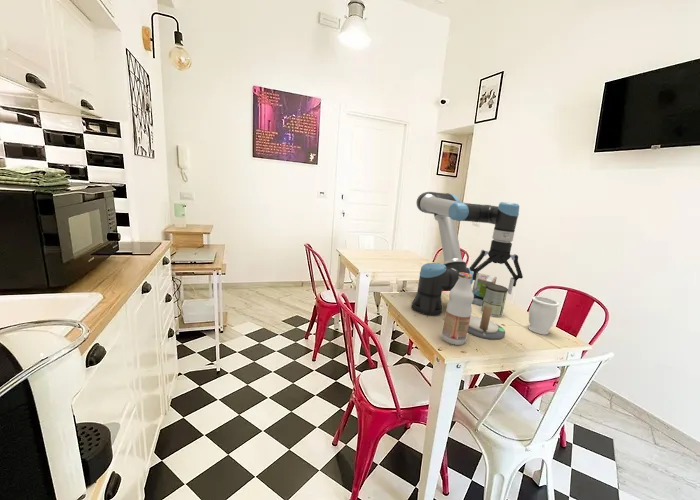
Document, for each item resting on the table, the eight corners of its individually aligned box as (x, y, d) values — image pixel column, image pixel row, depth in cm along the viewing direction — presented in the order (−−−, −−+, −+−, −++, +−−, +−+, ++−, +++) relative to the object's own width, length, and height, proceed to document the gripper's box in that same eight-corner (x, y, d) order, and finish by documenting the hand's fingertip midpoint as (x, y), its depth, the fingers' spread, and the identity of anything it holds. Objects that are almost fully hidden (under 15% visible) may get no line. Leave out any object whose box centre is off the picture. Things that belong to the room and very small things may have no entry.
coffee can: (478, 307, 165) (483, 282, 162) (498, 310, 164) (503, 285, 161) (484, 315, 155) (490, 288, 152) (505, 318, 154) (511, 291, 151)
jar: (520, 326, 146) (527, 296, 143) (535, 324, 150) (542, 295, 146) (540, 337, 136) (548, 305, 133) (556, 335, 140) (564, 304, 137)
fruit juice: (438, 340, 123) (450, 273, 117) (444, 331, 131) (455, 269, 126) (463, 348, 119) (476, 279, 113) (466, 338, 127) (479, 274, 121)
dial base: (459, 333, 131) (459, 330, 131) (455, 315, 150) (456, 313, 150) (509, 343, 127) (510, 340, 126) (499, 324, 146) (500, 321, 145)
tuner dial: (463, 316, 146) (467, 294, 144) (494, 322, 143) (499, 300, 141) (467, 331, 131) (471, 306, 129) (502, 338, 128) (507, 313, 126)
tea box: (488, 308, 165) (494, 282, 162) (469, 303, 170) (474, 277, 167) (492, 300, 178) (497, 276, 175) (473, 296, 183) (478, 272, 180)
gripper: (470, 237, 124) (461, 287, 128) (538, 246, 118) (526, 298, 123) (468, 235, 131) (459, 282, 135) (532, 243, 125) (521, 292, 130)
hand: (491, 290), depth 129 cm, fingers open, 13 cm apart
